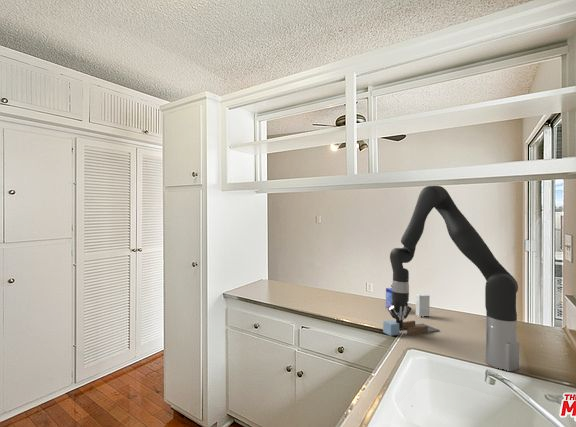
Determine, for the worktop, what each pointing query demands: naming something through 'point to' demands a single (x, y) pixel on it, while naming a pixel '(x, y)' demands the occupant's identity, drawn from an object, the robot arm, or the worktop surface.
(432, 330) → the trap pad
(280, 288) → the worktop surface
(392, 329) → the block
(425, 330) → the channel
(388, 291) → the ink cartridge box
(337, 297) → the worktop surface
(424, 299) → the skincare box
